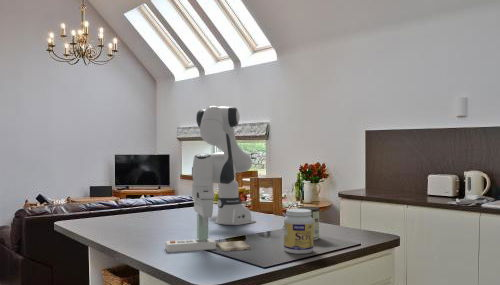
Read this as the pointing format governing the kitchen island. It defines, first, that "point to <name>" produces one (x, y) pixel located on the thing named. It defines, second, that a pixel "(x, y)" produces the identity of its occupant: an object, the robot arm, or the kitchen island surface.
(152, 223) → the kitchen island surface
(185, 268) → the kitchen island surface
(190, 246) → the power strip
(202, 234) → the grey-green tall block
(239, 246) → the coaster
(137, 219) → the kitchen island surface
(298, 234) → the supplement tub
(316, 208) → the coffee can
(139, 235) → the kitchen island surface
